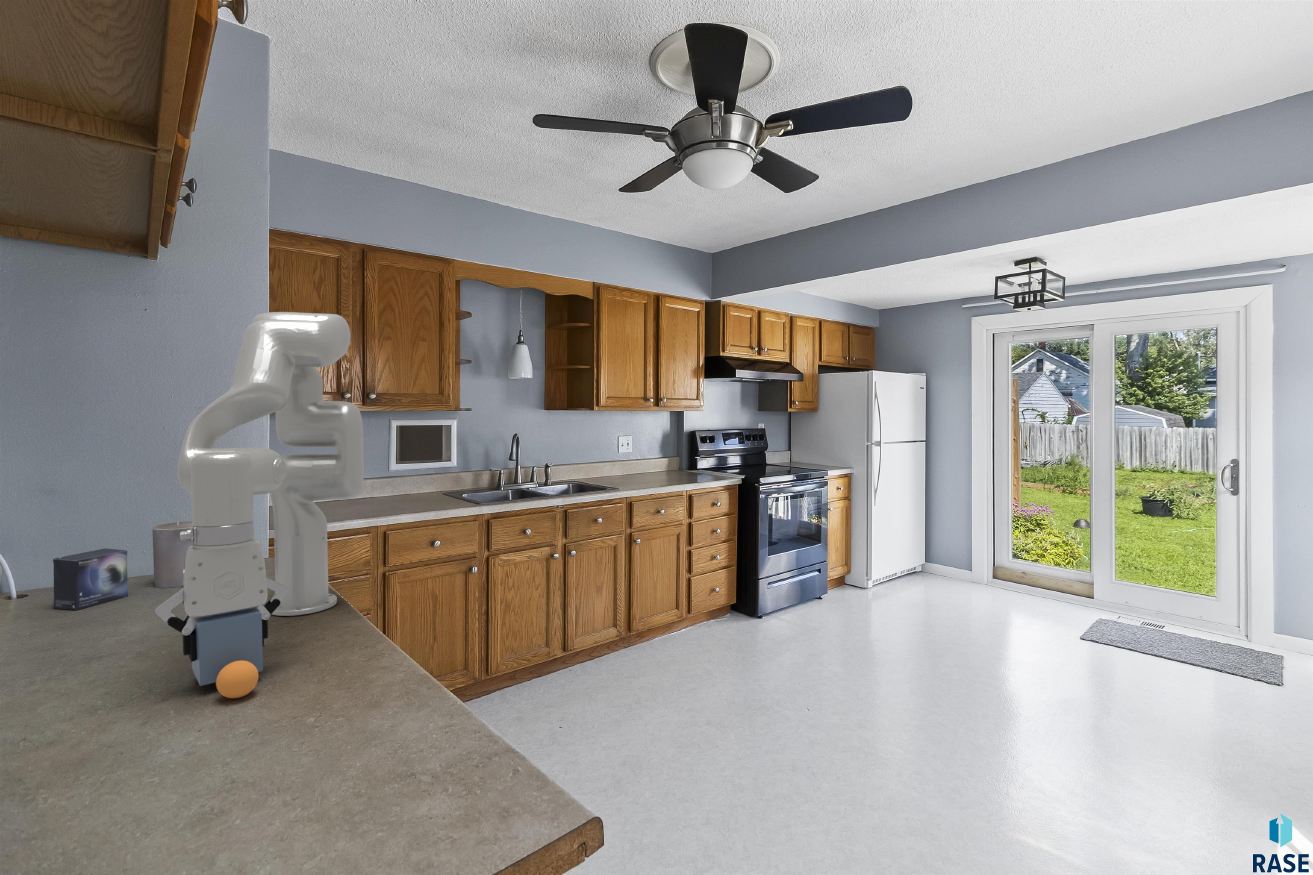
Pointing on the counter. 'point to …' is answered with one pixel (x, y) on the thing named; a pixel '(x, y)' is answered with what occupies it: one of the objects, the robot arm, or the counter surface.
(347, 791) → the counter surface
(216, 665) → the slate blue square block
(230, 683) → the ball
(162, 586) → the pillar candle
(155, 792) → the counter surface
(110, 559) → the small box
